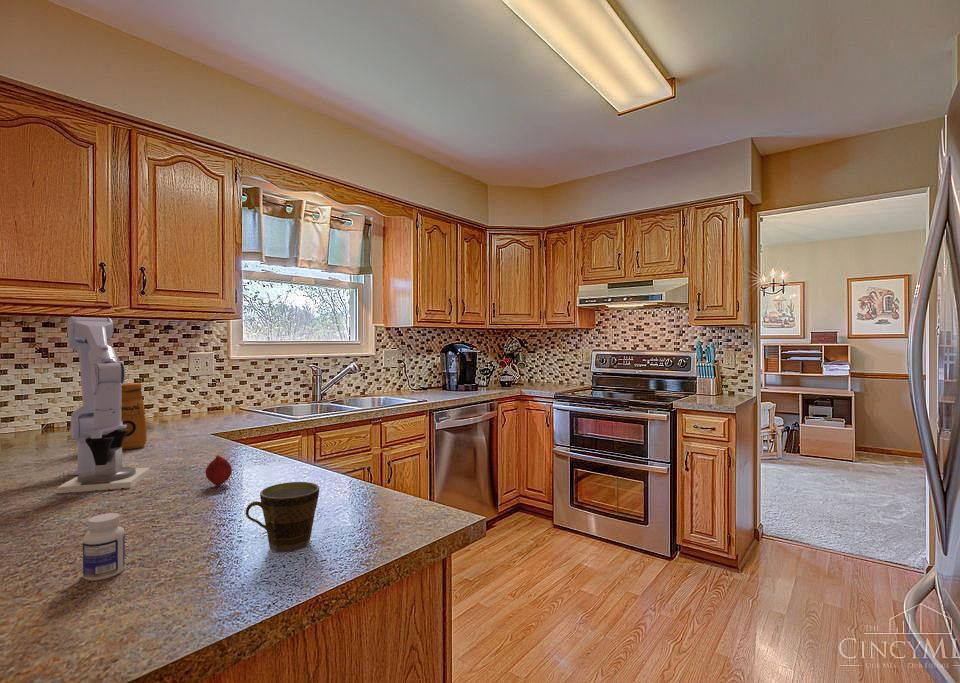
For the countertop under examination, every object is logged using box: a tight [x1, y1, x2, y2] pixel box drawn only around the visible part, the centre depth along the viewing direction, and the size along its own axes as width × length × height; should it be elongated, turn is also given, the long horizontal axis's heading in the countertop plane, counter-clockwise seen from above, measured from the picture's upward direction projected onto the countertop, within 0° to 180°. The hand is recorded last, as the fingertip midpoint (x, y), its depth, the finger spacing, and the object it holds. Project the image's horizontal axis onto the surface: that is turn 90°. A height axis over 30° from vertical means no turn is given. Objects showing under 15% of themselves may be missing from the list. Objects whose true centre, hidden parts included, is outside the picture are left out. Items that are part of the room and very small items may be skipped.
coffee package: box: [121, 383, 148, 450], centre depth 168 cm, size 10×12×22 cm
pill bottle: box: [82, 512, 126, 582], centre depth 78 cm, size 5×5×9 cm
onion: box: [205, 453, 233, 487], centre depth 125 cm, size 6×6×8 cm
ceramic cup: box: [245, 481, 320, 553], centre depth 87 cm, size 13×10×10 cm
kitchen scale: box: [57, 466, 151, 494], centre depth 127 cm, size 15×15×2 cm
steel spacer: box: [95, 447, 123, 475], centre depth 127 cm, size 4×4×6 cm
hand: (107, 461), depth 127 cm, fingers open, 7 cm apart
